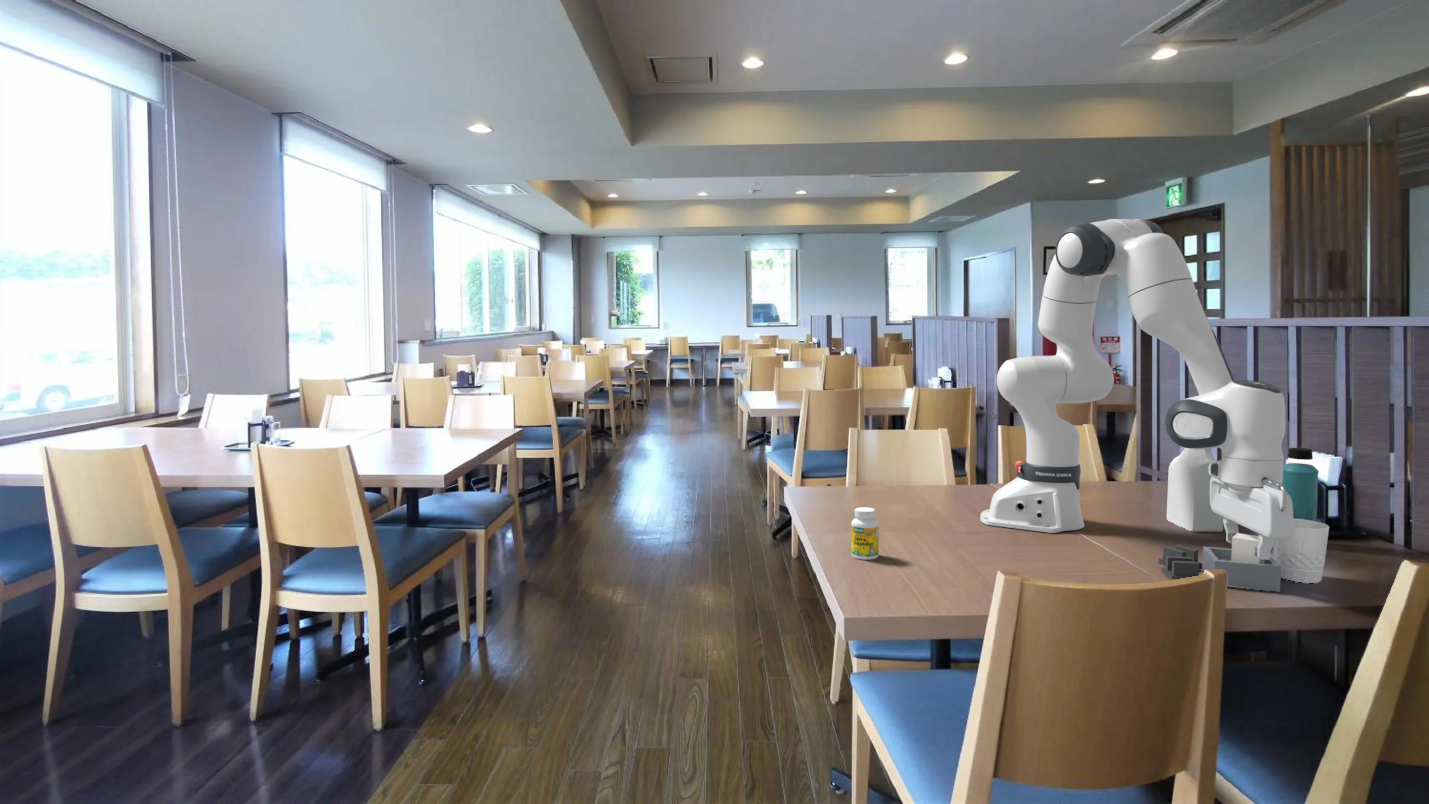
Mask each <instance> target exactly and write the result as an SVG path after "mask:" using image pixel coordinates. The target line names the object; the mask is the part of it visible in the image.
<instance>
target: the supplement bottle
mask: <svg viewBox="0 0 1429 804" xmlns="http://www.w3.org/2000/svg"><path fill="white" fill-rule="evenodd" d="M854 516H855V518H853V520H851V524H850V525H851V526H850V528H851V529H850V530H851V535H850V536H851V539H850V541H851V542H850V544H851V557H853V558H854V559H857V560H861V561H862V560H864V561H870V560H871V561H872V560H876V559H877V558H878V557H879V555H880V554H879V553H880V551H879V549H880V547H879V546H880V545H879V544H880V542H879V541H880V540H879V536H880V535H879V534H880V533H879V532H880V529H879V527H880V526H879V524H880V523H879V521H878V519H876V518H875V517H876V509H875V508H872V507H865V506H863V507H862V506H861V507H856V508H855V509H854Z"/></svg>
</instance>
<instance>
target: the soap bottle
mask: <svg viewBox="0 0 1429 804" xmlns="http://www.w3.org/2000/svg"><path fill="white" fill-rule="evenodd" d="M1183 448H1184V449H1183V450H1182V452H1181V453H1180V454H1179V455H1178V456H1176V457H1174V458H1173V459H1172V461H1170V463H1169V466H1168V472H1167V473H1168V475H1167V477H1168V480H1167V497H1166V499H1167V501H1166V521H1167V520H1168V521H1167V522H1169V521H1170V522H1169V523H1171V522H1172V524H1173V523H1174V525H1176V526H1178V527H1180V528H1182V527H1183V529H1184V528H1185V529H1184V530H1187V531H1189V532H1191V531H1192V533H1193V532H1194V533H1195V532H1197V533H1199V532H1200V533H1201V532H1205V533H1206V532H1207V533H1210V532H1211V533H1215V532H1216V533H1219V532H1220V533H1222V532H1223V530H1224V524H1223V517H1222V516H1220V515H1218V514H1216V513H1214V512H1213V511H1212V509H1211V505H1210V480H1211V477H1212V475H1210V474H1209V464H1210V463H1214V462H1217V460H1216V459H1215V457H1214V456H1213V453H1212V451H1211V448H1205V449H1190V448H1185V447H1183Z"/></svg>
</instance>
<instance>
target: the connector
mask: <svg viewBox="0 0 1429 804" xmlns="http://www.w3.org/2000/svg"><path fill="white" fill-rule="evenodd" d="M1259 541H1260V539H1258V535H1253V534H1247V533H1240V532H1239V533H1237V534H1236V535H1234V536H1233V537H1232V544H1231V549H1232V553H1231V560H1226V559H1220V560H1225V561H1236V562H1248V563H1259V564H1263V559H1259V558H1257V557H1256V556H1255V555H1254V553H1255V547H1258V544H1259Z"/></svg>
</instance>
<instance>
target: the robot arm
mask: <svg viewBox="0 0 1429 804" xmlns="http://www.w3.org/2000/svg"><path fill="white" fill-rule="evenodd" d="M1054 252H1055V254H1054V255H1053V258H1052V259H1051V262H1050V264H1049V268H1048V271H1047V274H1046V278H1045V281H1044V286H1043V291H1042V296H1041V302H1040V308H1039V309H1040V310H1039V313H1038V318H1037V319H1038V320H1037V327H1038V330H1039V332H1040V333H1041V335H1042V336H1043V337H1044V338H1046V339H1048V340H1049V341H1050V342H1052V343H1054V344H1056V354H1055V355H1026V356H1020V357H1015V358H1010V359H1008V360H1005V362H1003V363H1002V364H1001V366H1000V367H999V369H998V372H997V374H996V386H997V389H998V392H999V393H1000V395H1001V396H1002V398H1003V399H1005V401H1007V402H1008V403H1010V405H1012V406H1013V408H1014V409H1016V411H1017V412H1018V414H1019V415H1020V418H1021V419H1022V422H1023V423H1022V424H1023V425H1024V429H1025V430H1024V431H1025V439H1026V440H1025V441H1026V442H1025V443H1026V461H1022V460H1018V461H1016V462H1015V465H1014V467H1015V469H1016V477H1015V478H1014V479H1012V480H1011V481H1009V482H1008V483H1006V484H1005V485H1003V486H1001V487H1000V488H999V489H997V490H996V491H995V492H994V494H993V495H992V497H991V501H990V506H989V509H985V510H982V511H981V513H980V517H979V520H980V522H982V524H985V525H987V526H992V527H993V526H995V527H1003V528H1010V529H1017V530H1026V531H1035V532H1042V533H1043V532H1044V533H1051V534H1056V533H1061V532H1064V531H1065V532H1067V531H1075V530H1076V531H1077V530H1080V529H1083V528H1084V527H1085V525H1086V524H1085V522H1084V518H1083V514H1082V510H1081V503H1080V492H1079V491H1080V489H1081V485H1082V484H1081V483H1082V469H1081V464H1080V463H1079V460H1080V459H1079V457H1080V433H1079V431H1078V430H1077V429H1078V428H1076V427H1075V426H1074V425H1073V424H1072V423H1070V422H1068V421H1067V420H1065V419H1063V418H1061V417H1060V416H1059V414H1058V411H1057V404H1087V403H1091V402H1095V401H1096V402H1097V401H1099V400H1103V399H1105V398H1106V397H1107V396H1108V395H1109V394H1110V393H1111V391H1112V389H1113V387H1114V381H1115V380H1114V379H1115V376H1114V372H1113V369H1112V366H1111V365H1110V364H1109V362H1108V361H1107V360H1106V359H1104V358H1103V357H1102V356H1101V355H1100V353H1099V352H1098V351H1097V348H1096V346H1095V343H1094V337H1093V331H1094V330H1093V328H1094V321H1095V314H1096V307H1097V302H1098V296H1099V292H1100V285H1101V282H1102V280H1103V278H1104V277H1105V276H1113V275H1117V276H1118V277H1120V279H1121V280H1122V282H1123V287H1124V289H1125V293H1126V297H1127V301H1128V303H1129V307H1130V310H1131V314H1132V316H1133V317H1134V320H1135V321H1136V323H1137V324H1138V327H1139V328H1140V329H1141V330H1142V331H1143V332H1144V333H1146V334H1147V335H1149V336H1151V337H1153V338H1156V339H1158V340H1160V341H1162V342H1164V343H1165V344H1167V345H1169V346H1170V347H1172V348H1173V349H1175V350H1176V351H1177V352H1178V353H1179V354H1180V355H1181V356H1182V358H1183V359H1184V361H1185V363H1186V365H1187V368H1188V371H1189V374H1190V376H1191V377H1192V380H1193V383H1194V386H1195V387H1196V390H1197V392H1198V395H1195V396H1191V397H1187V398H1184V399H1180V400H1178V401H1177V402H1175V403H1173V404H1172V405H1170V407H1169V409H1168V410H1167V412H1166V414H1165V418H1164V427H1165V431H1166V433H1167V435H1168V437H1169V438H1170V440H1171V441H1172V442H1173V443H1174V444H1176V445H1178V446H1179V447H1181V448H1190V449H1205V448H1210V449H1214V448H1218V449H1220V450H1221V452H1222V453H1221V459H1219V460H1216V462H1214V463H1210V464H1209V474H1210V475H1212V477H1211V480H1210V505H1211V509H1212V511H1213V512H1214V513H1216V514H1218V515H1220V516H1222V517H1223V528H1224V530H1225V533H1226V534H1225V535H1226V536H1225V537H1226V538H1225V540H1226V542H1227V543H1229V544H1231V545H1232V537H1233V536H1234V535H1236V534H1237V533H1240V531H1239V526H1243V528H1246V529H1249V530H1251V531H1253V532H1255V533H1256V534H1257V536H1258V539H1260V541H1259V544H1258V547H1255V553H1254V555H1255V556H1256V557H1257V558H1259V559H1263V560H1268V559H1270V557H1272V556H1271V552H1272V549H1274V548H1273V546H1274V544H1275V542H1276V539H1289V538H1290V537H1291V536H1292V534H1293V505H1292V500H1291V497H1290V496H1289V495H1288V493H1287V491H1285V489H1284V486H1283V484H1282V478H1283V466H1284V459H1285V458H1284V453H1283V449H1282V446H1283V445H1282V443H1283V440H1284V437H1285V435H1286V404H1285V398H1284V395H1283V392H1282V390H1281V389H1280V388H1278V386H1275V385H1273V384H1271V383H1268V382H1264V381H1258V380H1250V379H1235V378H1234V375H1233V373H1232V371H1231V368H1230V365H1229V362H1228V361H1227V358H1226V356H1225V354H1224V352H1223V351H1224V350H1223V349H1222V346H1221V344H1220V342H1219V339H1218V338H1217V335H1216V333H1215V330H1214V329H1213V328H1212V326H1211V323H1210V322H1209V320H1208V317H1207V315H1206V314H1205V311H1204V308H1203V306H1202V304H1201V301H1200V298H1199V295H1198V292H1197V289H1196V286H1195V283H1194V280H1193V278H1192V277H1193V276H1192V274H1191V272H1190V269H1189V267H1188V263H1187V262H1186V260H1185V257H1184V255H1183V254H1182V252H1181V250H1180V248H1179V246H1178V245H1177V243H1176V241H1175V240H1174V238H1173V237H1171V236H1170V235H1169V234H1166V233H1164V231H1163V230H1162V228H1161V227H1160V226H1159V225H1158V224H1157V223H1156V222H1153V221H1151V220H1147V219H1143V218H1133V219H1128V218H1127V219H1126V218H1109V219H1105V220H1099V221H1098V220H1097V221H1094V222H1081V223H1077V224H1074V225H1072V226H1069V227H1067V228H1066V229H1065V230H1063V231H1062V232H1061V234H1060V235H1059V237H1058V239H1057V241H1056V244H1055V251H1054ZM1281 489H1282V490H1281ZM1238 525H1239V526H1238Z"/></svg>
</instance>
